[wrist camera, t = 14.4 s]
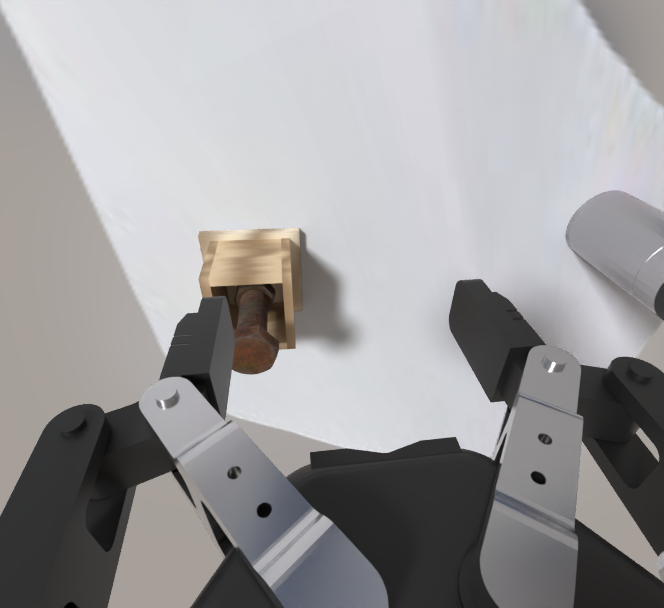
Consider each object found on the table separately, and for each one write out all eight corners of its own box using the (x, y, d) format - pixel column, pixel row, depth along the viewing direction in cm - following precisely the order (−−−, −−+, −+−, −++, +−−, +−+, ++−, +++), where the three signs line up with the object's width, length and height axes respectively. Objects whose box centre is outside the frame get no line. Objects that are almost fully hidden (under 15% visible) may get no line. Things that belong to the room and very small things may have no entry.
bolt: (268, 298, 52) (266, 381, 40) (231, 288, 51) (217, 371, 39) (282, 263, 49) (283, 340, 37) (243, 251, 48) (232, 328, 36)
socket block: (298, 227, 48) (303, 267, 40) (301, 305, 55) (306, 352, 47) (199, 231, 47) (184, 273, 39) (215, 310, 54) (205, 359, 46)
